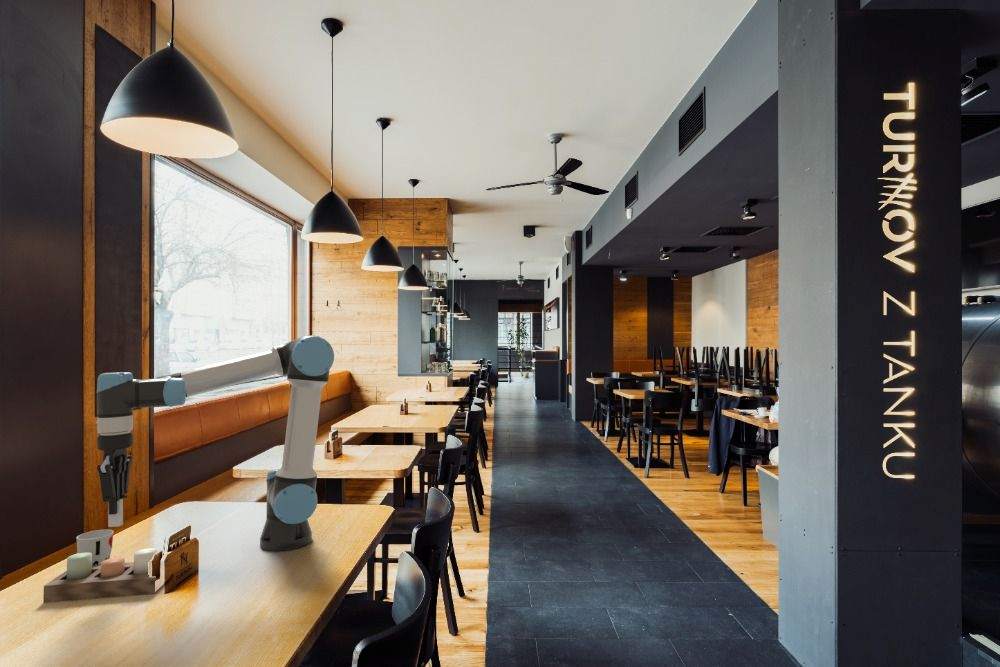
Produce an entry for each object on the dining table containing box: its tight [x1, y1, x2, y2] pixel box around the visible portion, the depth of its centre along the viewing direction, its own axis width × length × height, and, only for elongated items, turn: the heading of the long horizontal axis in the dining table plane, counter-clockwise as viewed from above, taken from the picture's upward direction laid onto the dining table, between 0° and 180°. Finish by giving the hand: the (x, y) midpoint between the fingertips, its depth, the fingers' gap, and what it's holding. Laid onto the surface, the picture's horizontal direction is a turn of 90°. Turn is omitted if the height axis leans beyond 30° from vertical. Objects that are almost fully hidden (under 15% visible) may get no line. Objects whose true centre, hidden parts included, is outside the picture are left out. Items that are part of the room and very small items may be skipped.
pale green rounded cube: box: [66, 552, 92, 580], centre depth 137 cm, size 5×5×5 cm
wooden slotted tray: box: [42, 561, 156, 604], centre depth 138 cm, size 24×12×4 cm, turn 101°
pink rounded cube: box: [100, 556, 126, 577], centre depth 138 cm, size 5×5×5 cm
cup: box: [76, 529, 114, 565], centre depth 149 cm, size 8×8×10 cm
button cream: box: [133, 547, 158, 575], centre depth 140 cm, size 5×5×5 cm
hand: (115, 525), depth 139 cm, fingers closed
